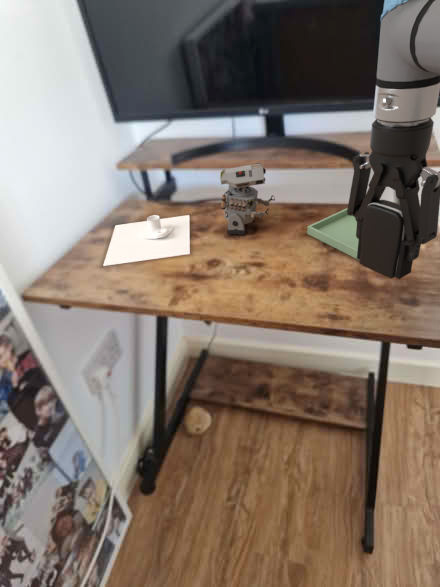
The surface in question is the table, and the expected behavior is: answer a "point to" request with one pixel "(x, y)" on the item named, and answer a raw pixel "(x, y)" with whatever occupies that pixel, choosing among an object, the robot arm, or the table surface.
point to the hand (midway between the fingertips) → (382, 265)
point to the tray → (337, 232)
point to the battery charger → (382, 237)
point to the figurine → (242, 196)
